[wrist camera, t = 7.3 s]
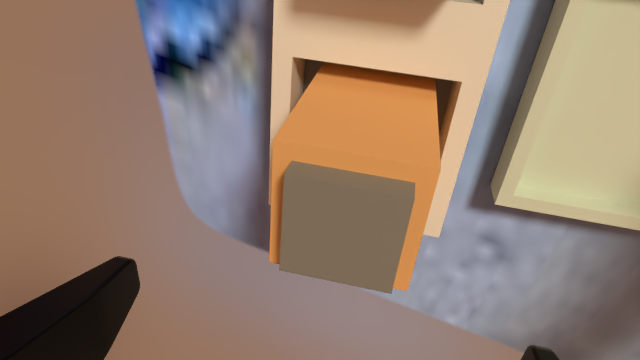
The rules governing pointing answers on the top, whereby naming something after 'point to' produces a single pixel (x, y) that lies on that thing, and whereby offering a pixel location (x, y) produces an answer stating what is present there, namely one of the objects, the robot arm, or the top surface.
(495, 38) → the cream slotted rack
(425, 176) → the plug
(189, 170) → the top surface
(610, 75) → the tray
